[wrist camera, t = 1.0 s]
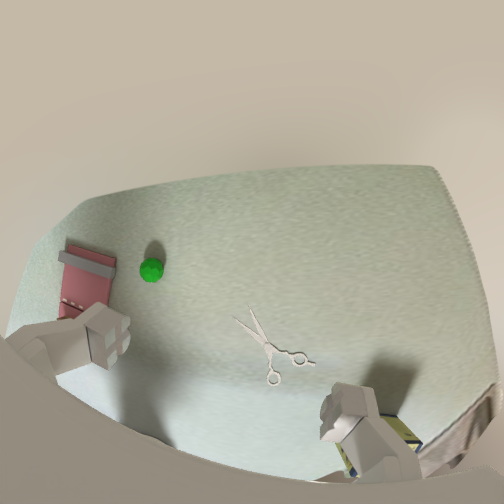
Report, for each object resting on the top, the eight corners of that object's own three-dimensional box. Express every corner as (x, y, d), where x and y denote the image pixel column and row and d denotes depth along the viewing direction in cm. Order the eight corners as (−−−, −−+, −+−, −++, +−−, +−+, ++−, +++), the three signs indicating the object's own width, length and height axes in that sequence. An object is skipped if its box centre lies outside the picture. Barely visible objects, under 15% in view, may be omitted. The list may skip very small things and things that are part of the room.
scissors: (276, 392, 54) (219, 325, 54) (276, 391, 55) (219, 324, 55) (316, 365, 54) (260, 294, 55) (315, 363, 55) (260, 294, 55)
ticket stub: (102, 350, 54) (91, 357, 48) (60, 330, 54) (47, 335, 48) (105, 319, 54) (93, 324, 49) (62, 301, 54) (49, 304, 49)
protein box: (350, 408, 54) (374, 442, 39) (397, 414, 54) (425, 443, 39) (332, 440, 54) (349, 477, 38) (378, 444, 54) (401, 475, 38)
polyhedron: (169, 278, 55) (162, 279, 50) (148, 284, 55) (140, 286, 50) (162, 255, 55) (154, 254, 50) (142, 261, 55) (133, 261, 50)
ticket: (109, 319, 54) (103, 321, 51) (59, 298, 54) (52, 299, 51) (119, 259, 55) (113, 259, 52) (68, 243, 55) (61, 243, 52)
